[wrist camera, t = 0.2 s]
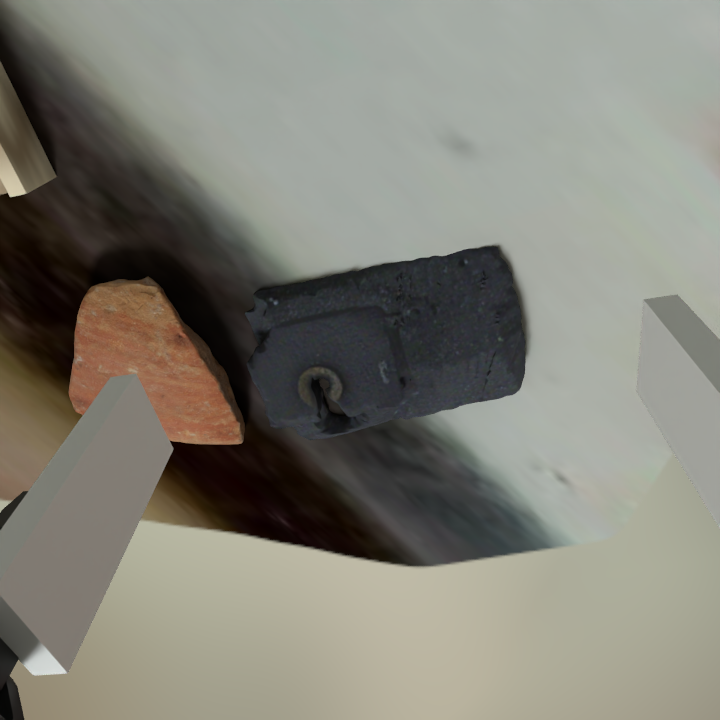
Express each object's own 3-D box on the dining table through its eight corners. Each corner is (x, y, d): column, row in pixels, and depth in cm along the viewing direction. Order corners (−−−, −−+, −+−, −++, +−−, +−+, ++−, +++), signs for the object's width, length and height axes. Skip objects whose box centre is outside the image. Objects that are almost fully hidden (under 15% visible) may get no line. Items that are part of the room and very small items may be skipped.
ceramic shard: (257, 332, 41) (241, 459, 51) (263, 280, 46) (247, 405, 56) (36, 304, 38) (64, 443, 48) (67, 252, 43) (87, 388, 53)
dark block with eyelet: (528, 395, 50) (540, 431, 46) (289, 435, 54) (281, 471, 50) (509, 231, 42) (522, 257, 38) (230, 292, 46) (215, 321, 42)
